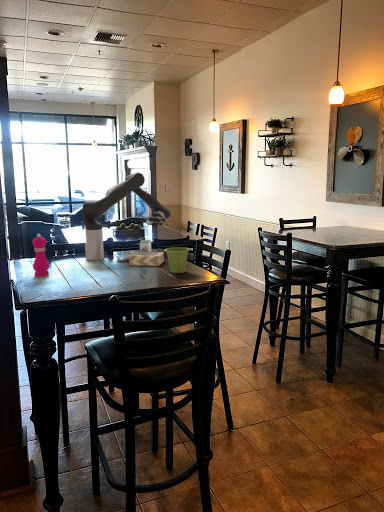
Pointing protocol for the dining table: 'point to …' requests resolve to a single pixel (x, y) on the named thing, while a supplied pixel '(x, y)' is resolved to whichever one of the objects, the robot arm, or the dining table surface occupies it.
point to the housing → (145, 246)
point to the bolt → (123, 259)
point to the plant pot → (177, 259)
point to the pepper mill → (40, 257)
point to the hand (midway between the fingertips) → (151, 221)
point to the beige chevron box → (146, 258)
